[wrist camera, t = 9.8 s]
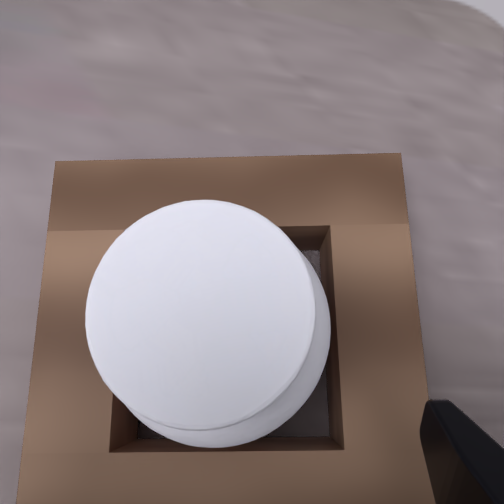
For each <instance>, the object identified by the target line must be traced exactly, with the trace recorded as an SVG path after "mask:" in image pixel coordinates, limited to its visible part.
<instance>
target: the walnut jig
mask: <svg viewBox="0 0 504 504" xmlns="http://www.w3.org/2000/svg"><path fill="white" fill-rule="evenodd" d="M191 200H217V201H224V202H230V203H233V204H237V205H240V206H243V207H245V208H248V209H251V210H253V211H255V212H257V213H259V214H260V215H262V216H264V217H265V218H267V219H268V220H270V221H271V222H272V223H273V224H275V225H276V226H277V227H279V228H280V229H281V230H282V231H283V232H284V233H285V234H286V235H287V236H288V237H289V239H290V240H291V241H292V242H293V244H294V245H295V246H296V247H297V248H298V249H299V250H319V251H320V269H321V284H322V287H323V289H324V292H325V295H326V298H327V302H328V307H329V313H330V326H331V335H330V347H329V351H328V356H327V360H326V376H327V394H328V412H329V430H330V437H261V438H258V439H256V440H254V441H251V442H248V443H245V444H241V445H237V446H230V447H224V448H206V447H195V446H190V445H186V444H182V443H179V442H176V441H174V440H171V439H169V438H168V439H137V429H138V418H137V417H136V416H134V415H133V413H132V412H131V411H130V410H129V409H128V408H127V407H126V405H125V404H124V403H123V402H122V401H120V400H119V399H118V398H117V397H116V396H115V395H114V393H113V392H112V391H111V390H110V389H109V387H108V386H107V385H106V384H105V382H104V381H103V379H102V377H101V376H100V374H99V372H98V370H97V368H96V366H95V364H94V361H93V359H92V356H91V353H90V350H89V346H88V342H87V337H86V327H85V312H86V302H87V297H88V292H89V287H90V284H91V281H92V278H93V276H94V273H95V271H96V269H97V267H98V265H99V263H100V261H101V260H102V258H103V256H104V255H105V253H106V252H107V250H108V249H109V247H110V246H111V245H112V244H113V242H114V241H115V240H116V238H118V237H119V236H120V235H121V234H122V233H123V232H124V231H125V230H126V229H127V228H128V227H130V226H131V225H132V224H133V223H135V222H136V221H138V220H139V219H141V218H142V217H144V216H146V215H148V214H150V213H152V212H154V211H156V210H158V209H160V208H163V207H165V206H168V205H172V204H175V203H179V202H183V201H191ZM428 400H429V397H428V388H427V379H426V371H425V362H424V353H423V344H422V335H421V326H420V318H419V309H418V300H417V291H416V282H415V274H414V265H413V256H412V247H411V238H410V229H409V221H408V212H407V203H406V194H405V185H404V176H403V168H402V159H401V153H378V154H337V155H296V156H255V157H214V158H173V159H131V160H90V161H55V170H54V178H53V187H52V196H51V204H50V213H49V222H48V230H47V239H46V248H45V256H44V265H43V274H42V282H41V291H40V300H39V308H38V317H37V326H36V334H35V343H34V352H33V360H32V369H31V378H30V386H29V395H28V404H27V412H26V421H25V430H24V438H23V447H22V456H21V465H20V473H19V482H18V491H17V499H16V504H436V503H435V499H434V495H433V491H432V487H431V483H430V478H429V474H428V470H427V466H426V462H425V458H424V454H423V449H422V445H421V441H420V433H419V431H420V424H421V420H422V415H423V411H424V407H425V404H426V402H427V401H428Z"/></svg>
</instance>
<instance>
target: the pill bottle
mask: <svg viewBox="0 0 504 504" xmlns="http://www.w3.org/2000/svg"><path fill="white" fill-rule="evenodd" d="M85 327H86V337H87V342H88V346H89V350H90V353H91V356H92V359H93V361H94V364H95V366H96V368H97V370H98V372H99V374H100V376H101V377H102V379H103V381H104V382H105V384H106V385H107V386H108V387H109V389H110V390H111V391H112V392H113V393H114V395H115V396H116V397H117V398H118V399H119V400H120V401H122V402H123V403H124V404H125V405H126V407H127V408H128V409H129V410H130V411H131V412H132V413H133V415H134V416H136V417H137V418H138V419H139V420H140V421H141V422H142V423H143V424H145V425H146V426H147V427H149V428H150V429H152V430H154V431H155V432H157V433H159V434H161V435H163V436H165V437H167V438H169V439H171V440H174V441H176V442H179V443H182V444H186V445H190V446H195V447H206V448H224V447H230V446H237V445H241V444H245V443H248V442H251V441H254V440H256V439H258V438H260V437H263V436H265V435H267V434H269V433H270V432H272V431H273V430H275V429H277V428H278V427H279V426H281V425H282V424H283V423H284V422H286V421H287V420H288V419H290V418H291V417H292V416H293V415H294V414H295V413H296V412H297V411H298V410H299V409H300V408H301V407H302V406H303V404H304V403H305V402H306V401H307V399H308V398H309V396H310V395H311V393H312V392H313V390H314V389H315V387H316V385H317V383H318V381H319V379H320V377H321V374H322V372H323V369H324V366H325V363H326V360H327V356H328V351H329V347H330V335H331V326H330V313H329V307H328V302H327V298H326V295H325V292H324V289H323V287H322V284H321V282H320V280H319V278H318V276H317V274H316V272H315V270H314V268H313V267H312V265H311V264H310V262H309V261H308V260H307V259H306V257H305V256H304V255H303V254H302V253H301V251H300V250H299V249H298V248H297V247H296V246H295V245H294V244H293V242H292V241H291V240H290V239H289V237H288V236H287V235H286V234H285V233H284V232H283V231H282V230H281V229H280V228H279V227H277V226H276V225H275V224H273V223H272V222H271V221H270V220H268V219H267V218H265V217H264V216H262V215H260V214H259V213H257V212H255V211H253V210H251V209H248V208H245V207H243V206H240V205H237V204H233V203H230V202H224V201H217V200H191V201H183V202H179V203H175V204H172V205H168V206H165V207H163V208H160V209H158V210H156V211H154V212H152V213H150V214H148V215H146V216H144V217H142V218H141V219H139V220H138V221H136V222H135V223H133V224H132V225H131V226H130V227H128V228H127V229H126V230H125V231H124V232H123V233H122V234H121V235H120V236H119V237H118V238H116V240H115V241H114V242H113V244H112V245H111V246H110V247H109V249H108V250H107V252H106V253H105V255H104V256H103V258H102V260H101V261H100V263H99V265H98V267H97V269H96V271H95V273H94V276H93V278H92V281H91V284H90V287H89V292H88V297H87V302H86V312H85Z"/></svg>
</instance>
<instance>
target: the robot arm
mask: <svg viewBox="0 0 504 504" xmlns="http://www.w3.org/2000/svg"><path fill="white" fill-rule="evenodd" d="M419 433H420V441H421V445H422V449H423V454H424V458H425V462H426V466H427V470H428V474H429V478H430V483H431V487H432V491H433V495H434V499H435V503H436V504H504V449H503V448H502V447H501V446H500V445H499V444H498V443H497V442H496V441H495V440H493V439H492V438H491V437H490V436H489V435H488V434H487V433H486V432H484V431H483V430H482V429H481V428H480V427H479V426H478V425H477V424H476V423H474V422H473V421H472V420H471V419H470V418H469V417H468V416H467V415H466V414H464V413H463V412H462V411H461V410H460V409H459V408H458V407H457V406H456V405H454V404H453V403H452V402H451V401H449V400H428V401H427V402H426V404H425V407H424V411H423V415H422V420H421V424H420V431H419Z"/></svg>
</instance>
